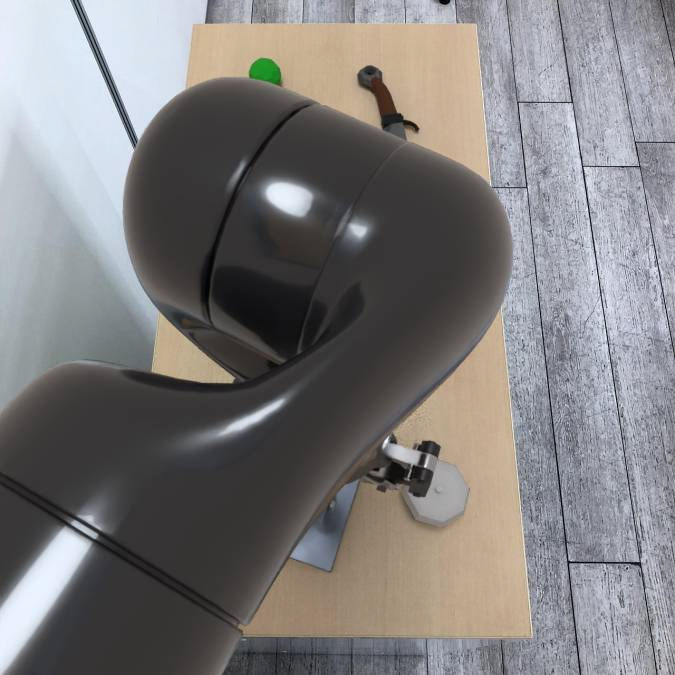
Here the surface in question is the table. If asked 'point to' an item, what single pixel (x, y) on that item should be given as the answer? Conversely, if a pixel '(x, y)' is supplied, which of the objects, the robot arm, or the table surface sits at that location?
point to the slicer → (327, 531)
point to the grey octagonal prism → (440, 497)
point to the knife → (385, 102)
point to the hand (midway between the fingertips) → (331, 460)
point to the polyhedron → (265, 71)
